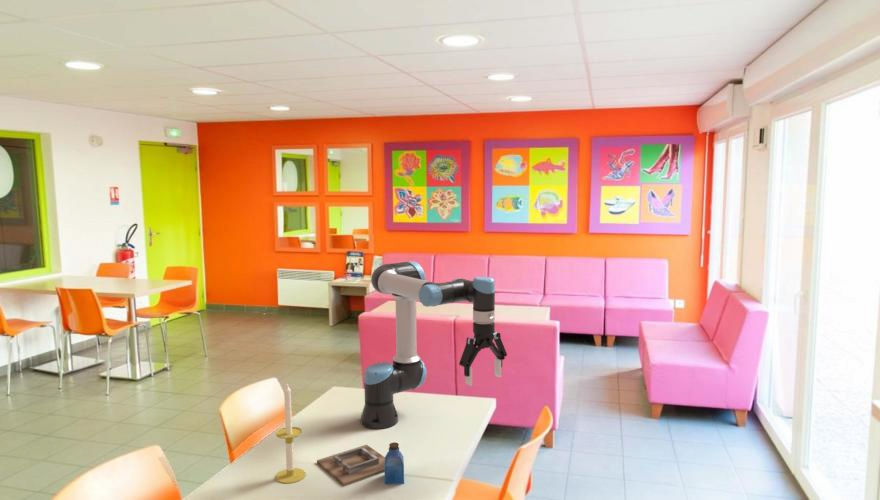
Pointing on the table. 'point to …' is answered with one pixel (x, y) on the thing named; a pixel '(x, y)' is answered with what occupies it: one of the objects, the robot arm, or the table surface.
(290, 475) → the candle
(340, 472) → the pocket board
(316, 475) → the table surface
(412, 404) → the table surface
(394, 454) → the perfume bottle
